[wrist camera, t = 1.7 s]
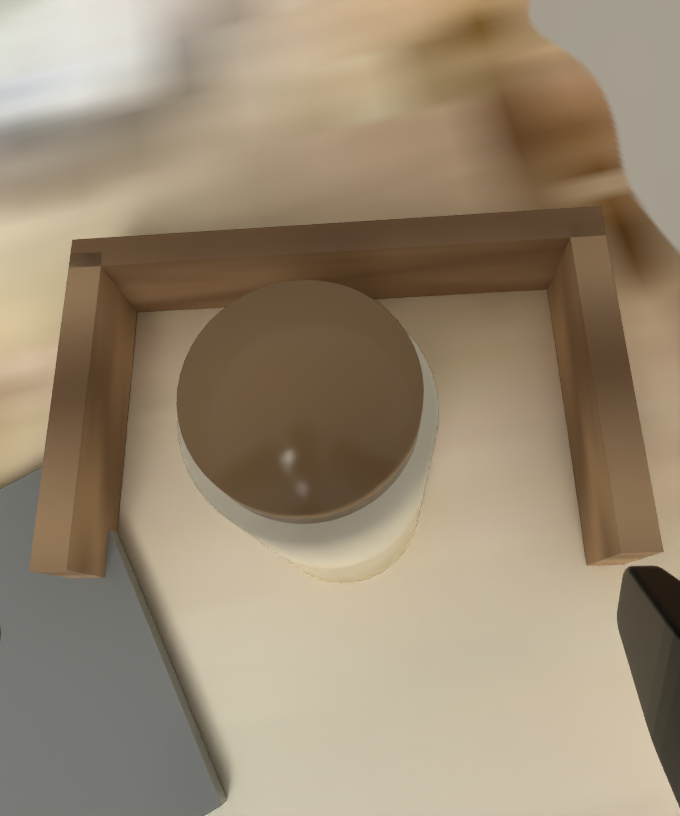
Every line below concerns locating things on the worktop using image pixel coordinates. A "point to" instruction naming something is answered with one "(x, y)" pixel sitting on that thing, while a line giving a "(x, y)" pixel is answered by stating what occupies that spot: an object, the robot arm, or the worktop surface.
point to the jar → (311, 425)
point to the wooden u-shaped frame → (377, 278)
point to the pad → (88, 690)
